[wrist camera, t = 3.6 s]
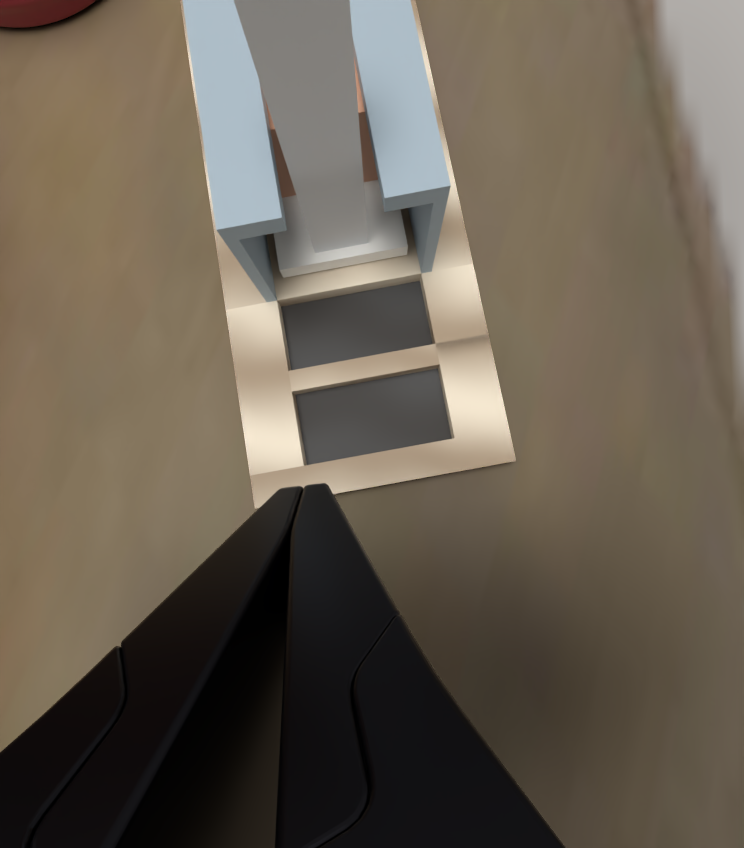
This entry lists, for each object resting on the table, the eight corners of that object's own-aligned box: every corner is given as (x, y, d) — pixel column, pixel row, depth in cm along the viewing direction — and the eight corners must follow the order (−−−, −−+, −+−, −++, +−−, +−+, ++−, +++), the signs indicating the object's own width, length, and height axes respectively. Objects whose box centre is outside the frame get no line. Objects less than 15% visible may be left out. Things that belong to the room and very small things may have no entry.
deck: (509, 461, 21) (516, 460, 20) (261, 506, 21) (254, 508, 20) (403, -29, 24) (404, -50, 23) (187, 13, 24) (179, -6, 23)
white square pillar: (407, 254, 21) (436, -55, 9) (283, 277, 21) (139, 3, 9) (373, 86, 22) (357, -402, 10) (255, 109, 22) (92, -348, 10)
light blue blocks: (431, 271, 21) (450, 185, 15) (266, 302, 21) (216, 229, 15) (391, 76, 22) (393, -80, 16) (235, 106, 22) (177, -38, 16)
